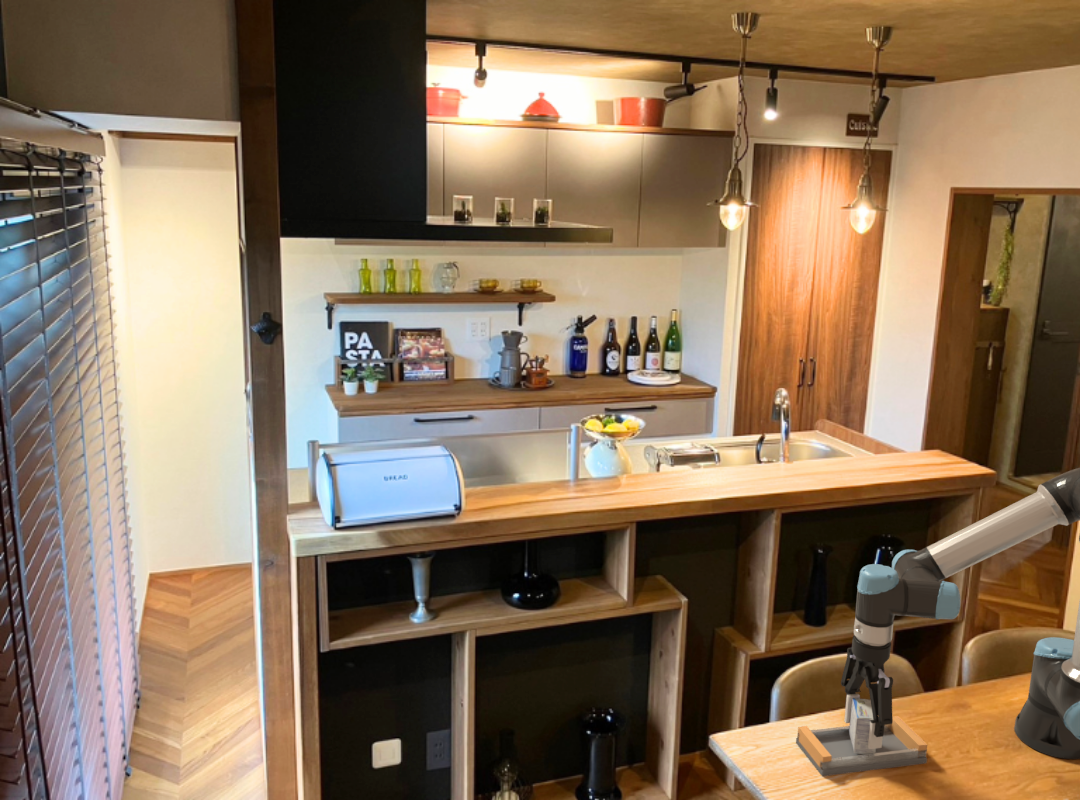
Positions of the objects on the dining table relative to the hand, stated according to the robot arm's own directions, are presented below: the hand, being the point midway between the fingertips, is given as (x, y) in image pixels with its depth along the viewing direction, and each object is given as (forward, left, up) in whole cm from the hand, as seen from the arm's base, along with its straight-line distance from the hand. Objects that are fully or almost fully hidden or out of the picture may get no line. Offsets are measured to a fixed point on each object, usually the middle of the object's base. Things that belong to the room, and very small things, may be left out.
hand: (862, 734), depth 191 cm
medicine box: (0, 0, -3) cm, 3 cm away
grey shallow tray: (0, 0, -5) cm, 5 cm away
